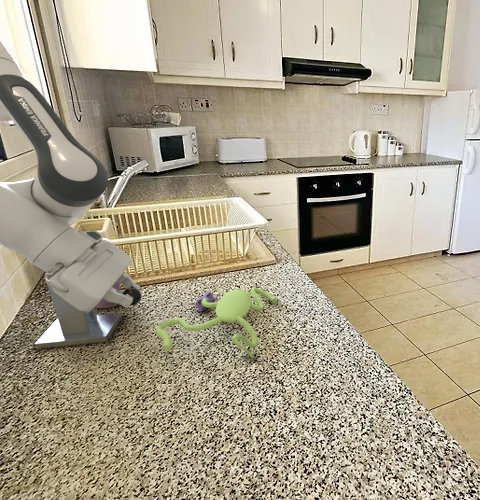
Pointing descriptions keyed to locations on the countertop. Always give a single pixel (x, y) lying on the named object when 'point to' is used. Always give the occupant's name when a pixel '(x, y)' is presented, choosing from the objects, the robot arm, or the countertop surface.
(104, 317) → the bracket
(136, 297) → the faucet lever
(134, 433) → the countertop surface
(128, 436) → the countertop surface
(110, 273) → the robot arm
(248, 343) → the figurine
